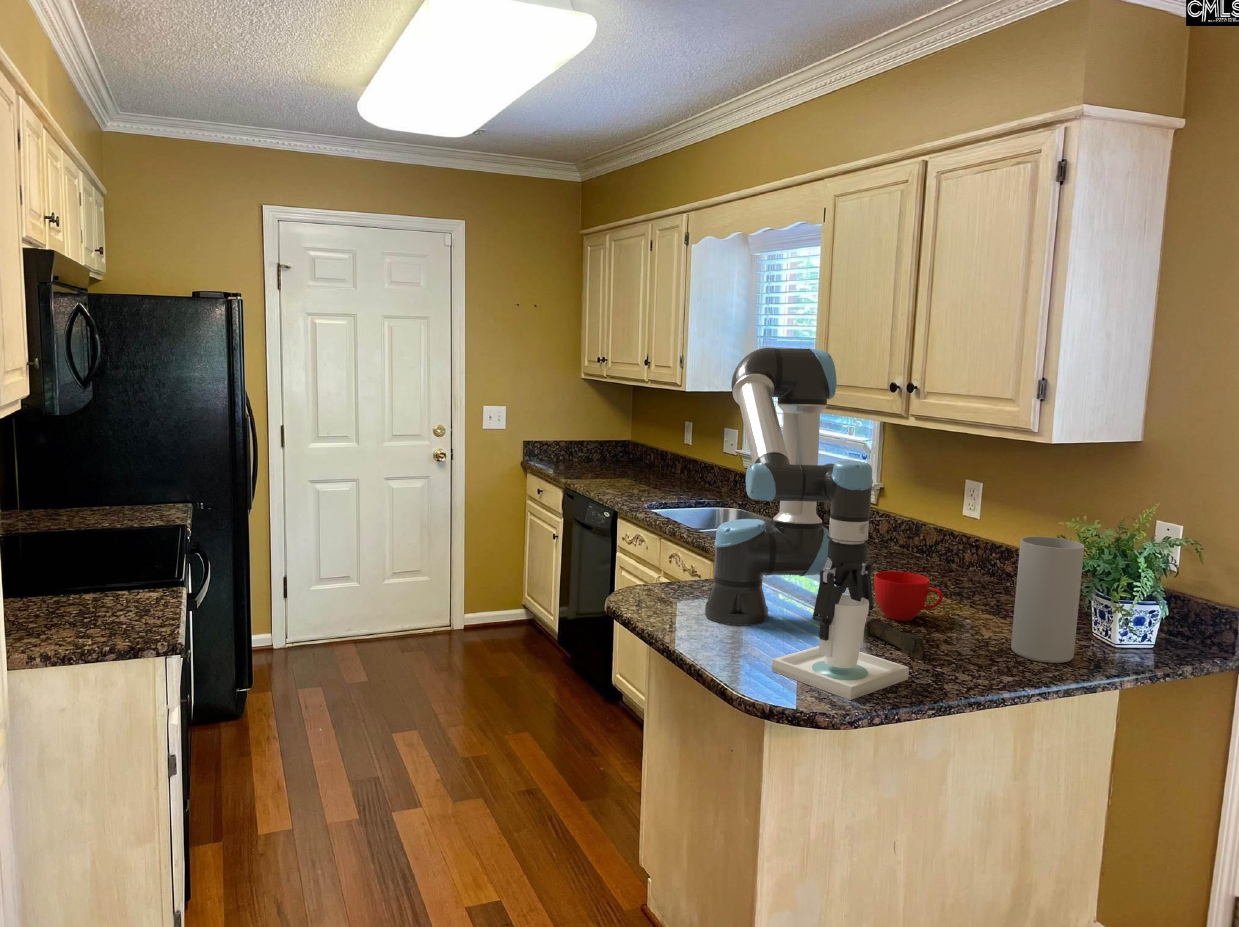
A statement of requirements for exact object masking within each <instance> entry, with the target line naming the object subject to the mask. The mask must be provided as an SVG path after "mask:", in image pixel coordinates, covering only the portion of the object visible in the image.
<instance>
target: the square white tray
mask: <svg viewBox="0 0 1239 927" xmlns="http://www.w3.org/2000/svg"><path fill="white" fill-rule="evenodd" d="M771 660H772V661H771V662H772V663H771V672H773V673H776V674H779V675H781V676H784V677H787V678H789V679H792V680H795V681H798V682H800V683H803V684H806V685H809V686H811V687H814V688H817V689H819V690H822V691H824V692H827V693H829V694H833V695H836V696H837V697H841V698H843V699H845V700H849V701H852V700H855V699H858V698H859V697H863V696H866V695H868V694H871V693H874V692H877V691H881V690H883V689H885V688H888V687H890V686H893V685H897V684H900V683H902V682H904V681H906V680H909V673H910V672H909V671H910V666H906V665H903V664H900V663H897V662H894V661H891V660H887V659H885V658H882V657H878V656H875V655H872V654H869V653H866V652H862V651H860V652H859V656H858V661H857V665H856V666H855V667H852V668H838V667H833V666H830V665H828V664H826V663H825V661H824V655H821V654H819V645H817V646H813V647H809V648H806V649H804V650H800V651H796V652H793V653H789V654H786V655H781V656H779V657H775V658H772V659H771Z"/></svg>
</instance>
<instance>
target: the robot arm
mask: <svg viewBox="0 0 1239 927" xmlns="http://www.w3.org/2000/svg"><path fill="white" fill-rule="evenodd" d="M731 378H732V379H731V386H730V387H731V393H732V397H733V399H734V401H735V402H736V404H738V405H739V407H740V408H739V409H740V413H741V417H742V421H743V426H744V431H745V434H746V440H747V444H748V448H749V449H748V450H749V453H750V457H751V462H752V463H751V464H749V465H748V467H747V469H746V473H745V491H746V494H747V497H748V498H749V499H751V500H754V501H755V500H756V501H765V502H779V512H777V514H776V515H775V516H774V517H772V526H771V525H770V526H768V525H767V524H766V521H764V520H763V519H757V518H741V519H740V518H739V519H733V520H728V521H726V522H723V523H721V524H719V526H718V527H717V529H716V531H715V532H716V533H715V541H714V566H713V567H714V569H713V583H712V584H713V585H712V587H711V589H710V592H709V595H708V597H707V601H706V603H705V607H704V615H705V617H706V618H707V619H709V620H711V621H713V622H717V623H720V624H724V625H734V626H753V625H754V626H755V625H759V624H760V625H761V624H763V623H765V622H767V621H768V620H769V607H768V605H767V602H766V598H765V592H764V589H763V588H764V587H763V579H764V578H763V577H764V576H766V575H767V576H799V577H806V576H817V575H819V584H818V585H819V586H818V591H817V594H816V599H815V604H814V608H813V613H812V617H811V618H812V621H814V622H818V623H819V628H818V629H819V630H818V631H819V632H818V639H819V645H818V646H819V654H821V655H824V656H827V657H832V655H833V639H834V624H831V623H832V620H833V617H834V615H835V604H839V601H840V598H841V596H842V594H843V593H844V594H845V593H846V591H847V589H848V592H849V593H848V594H850V597H851V599H853V600H856V601H859V602H860V601H861V598H865V599H867V600H868V601H869V612H868V615H867V617H870V616H871V615H872V611H873V610H874V598H873V588H872V587H873V586H872V578H871V577H872V576H871V575H872V569H873V566H872V565H871V564H869V563H865V562H866V561H867V559H868V550H869V549H868V548H869V546H868V543H867V540H869V529H870V528H869V526H870V514H871V502H872V491H873V490H872V488H873V484H874V479H873V467H872V465H871V464H870V463H869V462H868V463H867V462H865V461H864V462H862V461H858V460H857V461H856V460H838V461H836V462H835V463H832V462H831V463H830V462H829V463H824V464H821V465H820V464H819V451H820V450H819V446H820V429H821V427H820V422H821V413H822V412H823V411H824V410H825V409H826V408H827V407H828V400H831V399H833V398H834V397H835V395H836V392H837V391H836V389H837V371H836V365H835V362H834V359H833V357H832V355H831V354H830V353H829V352H828V351H827V350H824V349H816V348H810V347H809V348H793V347H792V348H789V347H788V348H787V347H786V348H784V347H763V348H762V347H761V348H758V349H755V350H754V351H751V352H750V353H749V354H747V355H746V356H745V357H744V358H742V360H741V361H739V363H738V364H737V366H736V368H735V370H734V372H733V375H732V377H731ZM773 398H777V404H776V405H777V406H778V408H779V409H780V410H781V411H782V412H783V416H782V417H783V420H782V421H783V423H782V429H781V425H780V420H779V417H778V414H777V410H776V407H775V403H774V399H773ZM817 502H818V503H819V502H821V503H830V515H829V525H828V526H829V527H828V528H827V527H824V526H823V520H822V519H821V517H819V515H818V513H817ZM828 559H829V560H830V561H831V565H830V566H831V567H830V568H829V569H828V570H824V568H825V567H826V564H827V562H828ZM827 616H828V617H827ZM864 635H865V631H864V632H863V637H862V642H861V647H860V649H863V648H864V637H865V636H864Z"/></svg>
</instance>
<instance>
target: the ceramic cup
mask: <svg viewBox="0 0 1239 927" xmlns="http://www.w3.org/2000/svg"><path fill="white" fill-rule="evenodd" d="M873 580H874V583H873V584H874V595H875V601H876V604H877V605H878V607H879V608H880V610H881V612H882V613H883V614H884V616H885V617H886V618H887V619H890V620H893V621H901V622H907V621H913V620H914V618H915V617H917V616H918V615H919V613H920V612H921V611H924V610H929V609H930V610H931V609H934V608H936V607H938V606H939V605H940V604H942V601H943V599H944V594H943V592H942V591H941V590H940V589H938V588H934V587H932V588H930V580H931V579H929V577H927V576H924V575H922V574H918V573H914V572H913V573H912V572H907V571H899V570H898V571H897V570H889V571H887V570H886V571H879V572H876V573H875V574H874V579H873ZM932 592H934V593H936V594H938V600H937V602H935V603H934V604H931V605H926V603H927V599H928V595H929V594H931V593H932Z"/></svg>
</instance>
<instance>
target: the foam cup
mask: <svg viewBox="0 0 1239 927" xmlns="http://www.w3.org/2000/svg"><path fill="white" fill-rule="evenodd" d="M869 611H870V610H869V601H868V600H867V599H865V598H861V601H860V602H859V601H856V600H853V599H851V597H850V593H845V592H844V593H843V594H842V596H841V598H840V601H839V604H835V615H834V617H833V620H832V623H831V624H834V639H833V655H832V657H827V656H824V661H825V663H826V664H828V665H830V666H833V667H838V668H852V667H855V666H856V665H857V661H858V656H859V652H861V651H860V650H861V648H860V647H861V642H862V637H863V632H864V633H865V629H866V628H865V627H866V626H865V625H866V624H867V622H866V621H867V619H868V618H867V617H868V616H867V615H868V612H869ZM827 617H828V616H827Z"/></svg>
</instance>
